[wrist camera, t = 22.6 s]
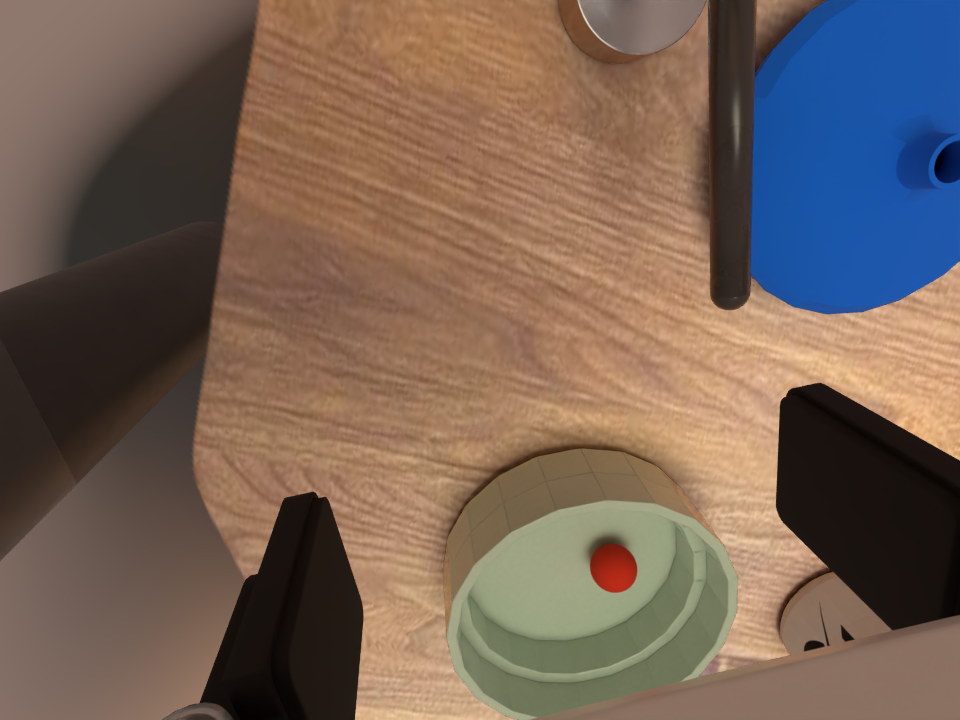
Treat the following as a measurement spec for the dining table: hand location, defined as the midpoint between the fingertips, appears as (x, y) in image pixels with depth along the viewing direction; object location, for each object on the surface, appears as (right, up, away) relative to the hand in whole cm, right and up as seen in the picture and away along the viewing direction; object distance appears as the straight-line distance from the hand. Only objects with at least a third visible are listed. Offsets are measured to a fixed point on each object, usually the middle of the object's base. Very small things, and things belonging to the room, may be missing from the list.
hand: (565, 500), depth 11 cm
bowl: (+4, -10, +27) cm, 29 cm away
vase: (+17, +14, +19) cm, 29 cm away
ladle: (+6, +16, +17) cm, 23 cm away
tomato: (+7, -11, +25) cm, 28 cm away
